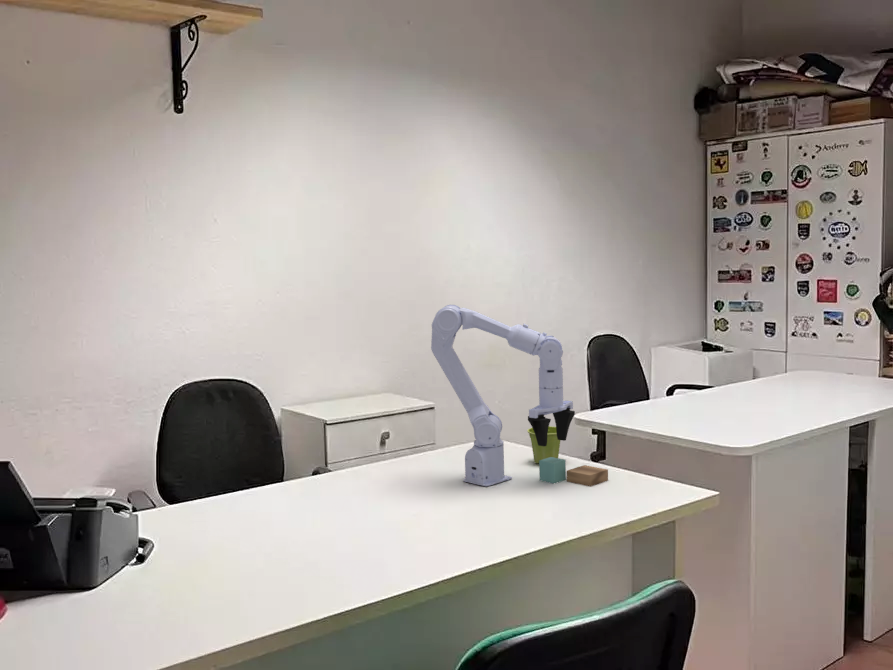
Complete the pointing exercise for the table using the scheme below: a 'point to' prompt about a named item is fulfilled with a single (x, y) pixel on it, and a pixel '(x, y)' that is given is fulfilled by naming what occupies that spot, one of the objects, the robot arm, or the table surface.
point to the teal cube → (552, 469)
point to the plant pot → (550, 448)
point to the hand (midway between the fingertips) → (552, 442)
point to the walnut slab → (587, 475)
